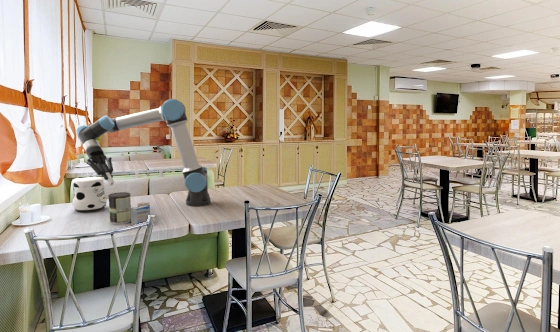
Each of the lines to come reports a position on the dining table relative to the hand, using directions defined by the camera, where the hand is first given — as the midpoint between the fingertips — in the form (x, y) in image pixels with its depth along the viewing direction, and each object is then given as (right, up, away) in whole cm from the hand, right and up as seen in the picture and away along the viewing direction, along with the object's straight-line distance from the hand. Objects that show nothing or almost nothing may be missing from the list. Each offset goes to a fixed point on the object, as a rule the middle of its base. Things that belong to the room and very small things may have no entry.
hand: (111, 183), depth 177 cm
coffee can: (+5, -19, 0) cm, 20 cm away
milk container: (-24, -17, +24) cm, 38 cm away
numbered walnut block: (+13, -18, +8) cm, 24 cm away
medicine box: (+17, -20, -5) cm, 27 cm away
